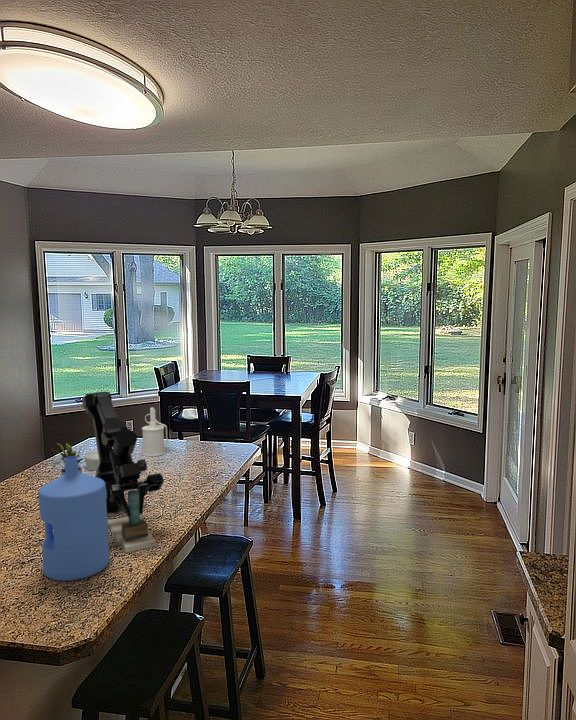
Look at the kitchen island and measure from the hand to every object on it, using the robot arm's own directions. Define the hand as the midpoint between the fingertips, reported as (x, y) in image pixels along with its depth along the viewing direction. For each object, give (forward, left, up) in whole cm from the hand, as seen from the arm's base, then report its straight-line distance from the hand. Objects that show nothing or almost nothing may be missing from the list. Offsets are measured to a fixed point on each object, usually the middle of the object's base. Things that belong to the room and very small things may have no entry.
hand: (135, 515), depth 151 cm
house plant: (-38, +45, -8) cm, 59 cm away
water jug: (-11, -13, -8) cm, 19 cm away
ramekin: (-35, +67, -8) cm, 76 cm away
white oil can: (-18, +86, -8) cm, 88 cm away
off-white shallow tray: (-3, +5, -8) cm, 10 cm away
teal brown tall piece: (-1, +1, -6) cm, 7 cm away
